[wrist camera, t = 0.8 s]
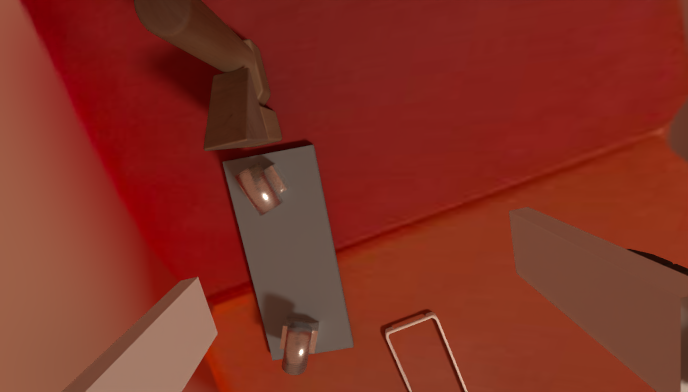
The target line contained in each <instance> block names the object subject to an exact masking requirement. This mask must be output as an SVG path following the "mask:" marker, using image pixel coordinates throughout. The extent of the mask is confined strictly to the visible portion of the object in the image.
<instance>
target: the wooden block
mask: <svg viewBox="0 0 688 392" xmlns="http://www.w3.org/2000/svg"><path fill="white" fill-rule="evenodd" d="M134 5H135V10H136V13H137V15H138V17H139V19H140V21H141V23H142V24H143V25H144V26H145V28H146V29H147V30H148V31H150V32H152V33H153V34H155V35H156V36H158V37H160V38H162V39H164V40H166V41H167V42H169V43H171V44H173V45H175V46H177V47H178V48H180V49H182V50H184V51H186V52H188V53H189V54H191V55H193V56H195V57H197V58H198V59H200V60H202V61H204V62H206V63H208V64H209V65H211V66H213V67H215V68H217V69H219V70H220V71H222V72H224V73H223V74H219V75H214V76H213V82H212V89H211V97H210V104H209V112H208V120H207V127H206V135H205V142H204V150H205V151H209V150H220V149H231V148H243V147H254V146H260V145H264V144H268V143H273V142H277V141H280V140H282V135H281V131H280V127H279V124H278V120H277V116H276V113H275V111H273V110H270V109H268V108H265V107H264V106H265V104H266V102H267V100H268V99H269V97H270V89H269V86H268V82H267V78H266V74H265V70H264V66H263V63H262V59H261V55H260V51H259V49H258V47H257V46H256V45H255V44H254V43H253V42H252V41H251V40H250V39H246V40H242V39H241V38H240V37H239V36H237V35H236V34H235V33H234V32H233V31H232V30H231V29H230V28H229V27H228V26H227V25H226V24H225V23H224V22H223V21H222V20H221V19H220V18H219V17H218V16H217V15H216V14H215V13H214V12H213V11H211V10H210V9H209V8H208V7H207V6H206V5H205V4H204V3H203V2H202V1H201V0H134Z"/></svg>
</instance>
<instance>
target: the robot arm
mask: <svg viewBox="0 0 688 392" xmlns="http://www.w3.org/2000/svg"><path fill="white" fill-rule="evenodd" d="M509 215H510V224H511V232H512V241H513V249H514V257H515V266H516V273H517V274H518V275H519V276H520V277H522V278H523V279H524V280H525V281H526V282H528V283H529V284H530V285H531V286H532V287H534V288H535V289H536V290H537V291H538V292H539V293H541V294H542V295H543V296H544V297H545V298H547V299H548V300H549V301H550V302H551V303H552V304H554V305H555V306H556V307H557V308H558V309H560V310H561V311H562V312H563V313H564V314H565V315H567V316H568V317H569V318H570V319H571V320H573V321H574V322H575V323H576V324H577V325H579V326H580V327H581V328H582V329H583V330H584V331H586V332H587V333H588V334H589V335H590V336H592V337H593V338H594V339H595V340H596V341H597V342H599V343H600V344H601V345H602V346H603V347H605V348H606V349H607V350H608V351H609V352H610V353H612V354H613V355H614V356H615V357H616V358H618V359H619V360H620V361H621V362H622V363H624V364H625V365H626V366H627V367H628V368H629V369H631V370H632V371H633V372H634V373H635V374H637V375H638V376H639V377H640V378H641V379H642V380H644V381H645V382H646V383H647V384H648V385H650V386H651V387H652V388H653V389H654V390H655V391H657V392H688V269H687V268H685V267H682V266H680V265H678V264H673V263H672V262H670V261H668V260H665V259H663V258H660V257H658V256H656V255H653V254H649V253H645V252H640V251H636V250H632V249H624V248H622V247H620V246H617V245H615V244H613V243H610V242H608V241H606V240H603V239H601V238H599V237H596V236H594V235H592V234H589V233H587V232H585V231H582V230H580V229H578V228H576V227H573V226H571V225H569V224H566V223H564V222H562V221H559V220H557V219H555V218H552V217H550V216H548V215H545V214H543V213H541V212H538V211H536V210H534V209H531V208H529V207H526V208H521V209H516V210H512V211H509ZM217 334H218V333H217V330H216V327H215V324H214V321H213V319H212V316H211V313H210V310H209V307H208V304H207V301H206V299H205V296H204V293H203V290H202V287H201V284H200V281H199V278H198V277H196V278H191V279H186V280H182V281H180V282H179V283H178V284H177V285H176V286H175V287H173V288H172V289H171V290H170V291H169V292H168V293H167V294H166V295H165V296H164V297H163V298H162V299H161V300H160V301H158V302H157V303H156V304H155V305H154V306H153V307H152V308H151V309H150V310H149V311H148V312H147V313H146V314H145V315H144V316H142V317H141V318H140V319H139V320H138V321H137V322H136V323H135V324H134V325H133V326H132V327H131V328H130V329H128V330H127V331H126V332H125V333H124V334H123V335H122V336H121V337H120V338H119V339H118V340H117V341H116V342H115V343H113V344H112V345H111V346H110V347H109V348H108V349H107V350H106V351H105V352H104V353H103V354H102V355H101V356H99V358H97V360H95V361H94V362H93V363H92V364H91V365H90V366H89V367H88V368H87V369H86V370H84V371H83V373H81V374H80V375H79V376H78V377H77V378H76V379H75V380H74V381H73V382H72V383H71V384H69V385H68V386H67V387H66V388H65V389H64V390H63V391H62V392H182V390H183V389H184V387H185V386H186V384H187V382H188V381H189V379H190V378H191V376H192V374H193V373H194V371H195V369H196V368H197V366H198V364H199V363H200V361H201V360H202V358H203V356H204V355H205V353H206V352H207V350H208V348H209V347H210V345H211V344H212V342H213V340H214V339H215V337H216V335H217Z"/></svg>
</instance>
